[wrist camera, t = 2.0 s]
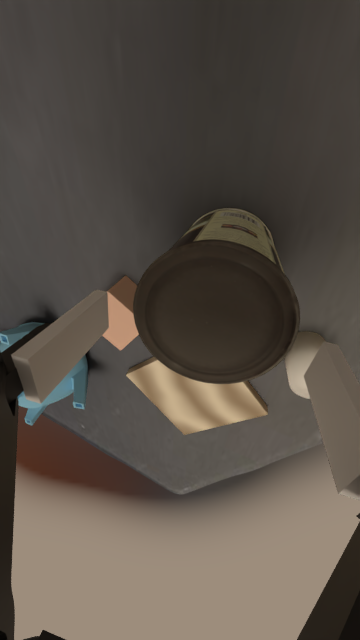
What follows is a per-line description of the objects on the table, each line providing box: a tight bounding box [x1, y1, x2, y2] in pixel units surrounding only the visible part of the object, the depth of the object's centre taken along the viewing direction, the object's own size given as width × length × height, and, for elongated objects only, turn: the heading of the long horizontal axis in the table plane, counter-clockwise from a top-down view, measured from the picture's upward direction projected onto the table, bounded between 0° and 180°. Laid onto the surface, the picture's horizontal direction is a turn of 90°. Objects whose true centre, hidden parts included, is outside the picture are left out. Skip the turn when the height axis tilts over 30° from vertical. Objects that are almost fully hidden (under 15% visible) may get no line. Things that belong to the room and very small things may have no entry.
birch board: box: [126, 357, 268, 435], centre depth 38 cm, size 16×16×2 cm
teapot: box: [0, 322, 88, 425], centre depth 37 cm, size 15×15×11 cm
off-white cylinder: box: [284, 331, 326, 399], centre depth 28 cm, size 5×5×6 cm
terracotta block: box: [102, 276, 139, 351], centre depth 31 cm, size 6×6×5 cm
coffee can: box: [133, 208, 300, 384], centre depth 21 cm, size 10×10×14 cm
